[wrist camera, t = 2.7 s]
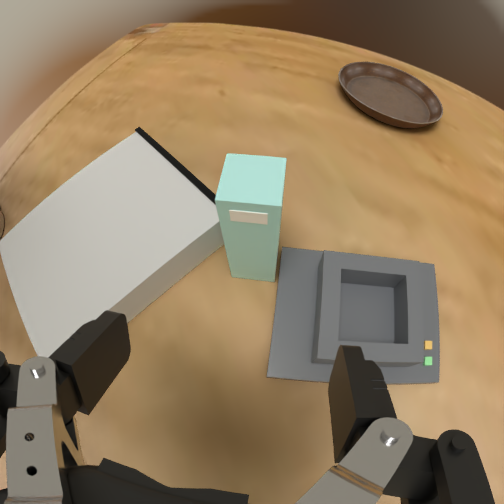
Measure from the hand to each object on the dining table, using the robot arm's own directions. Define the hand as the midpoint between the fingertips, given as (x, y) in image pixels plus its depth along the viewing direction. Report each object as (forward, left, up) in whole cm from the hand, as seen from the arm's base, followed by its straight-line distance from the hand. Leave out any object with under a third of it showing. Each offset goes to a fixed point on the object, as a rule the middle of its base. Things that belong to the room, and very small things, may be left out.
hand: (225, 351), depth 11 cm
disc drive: (-18, -9, -16) cm, 26 cm away
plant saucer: (-28, +36, -16) cm, 48 cm away
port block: (-1, +12, -16) cm, 20 cm away
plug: (-10, +5, -16) cm, 19 cm away
